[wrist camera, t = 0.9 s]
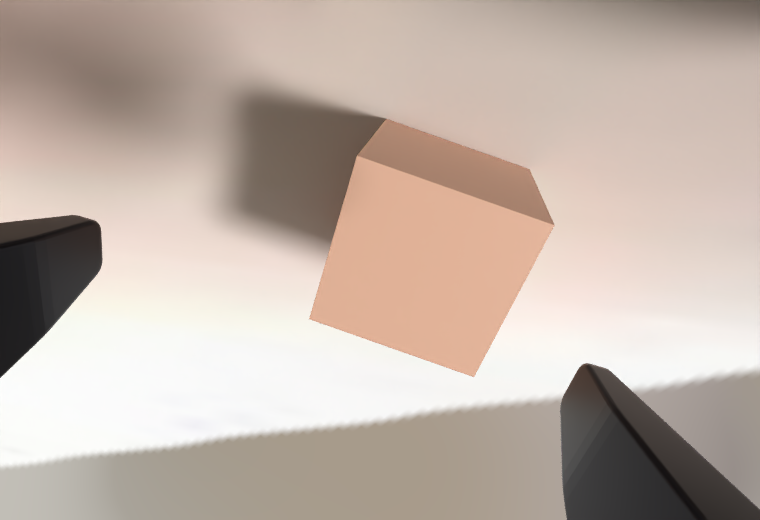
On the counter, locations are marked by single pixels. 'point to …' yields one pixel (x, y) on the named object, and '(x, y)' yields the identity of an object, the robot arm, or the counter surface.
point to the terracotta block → (430, 247)
